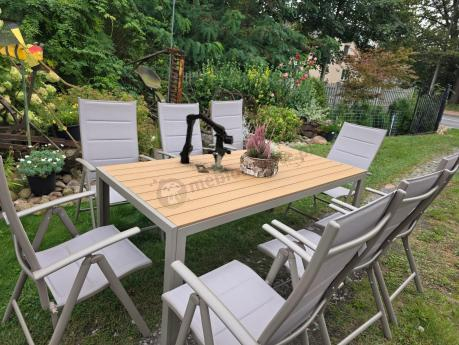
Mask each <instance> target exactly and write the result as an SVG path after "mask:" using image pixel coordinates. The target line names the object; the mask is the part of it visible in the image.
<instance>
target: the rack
mask: <svg viewBox="0 0 459 345" xmlns="http://www.w3.org/2000/svg"><path fill="white" fill-rule="evenodd" d="M195 167H196V169H197V171H198V170H199V169H201V168H202V169H207V167H206V166H205V165H204V164H195Z"/></svg>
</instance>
